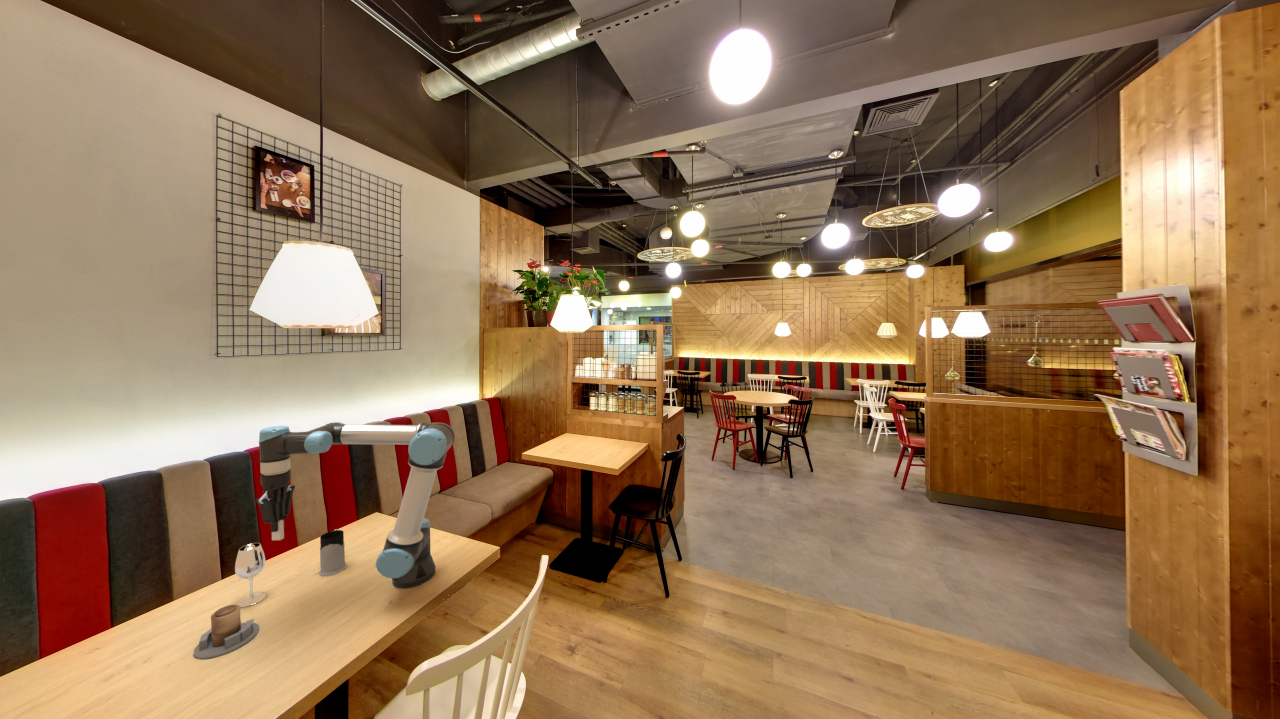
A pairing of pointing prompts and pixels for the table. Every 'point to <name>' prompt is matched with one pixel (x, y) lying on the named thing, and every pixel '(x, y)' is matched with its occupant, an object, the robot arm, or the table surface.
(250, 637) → the grey round base
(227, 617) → the stopper
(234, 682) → the table surface
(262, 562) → the wineglass
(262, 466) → the robot arm
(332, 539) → the glass holder
